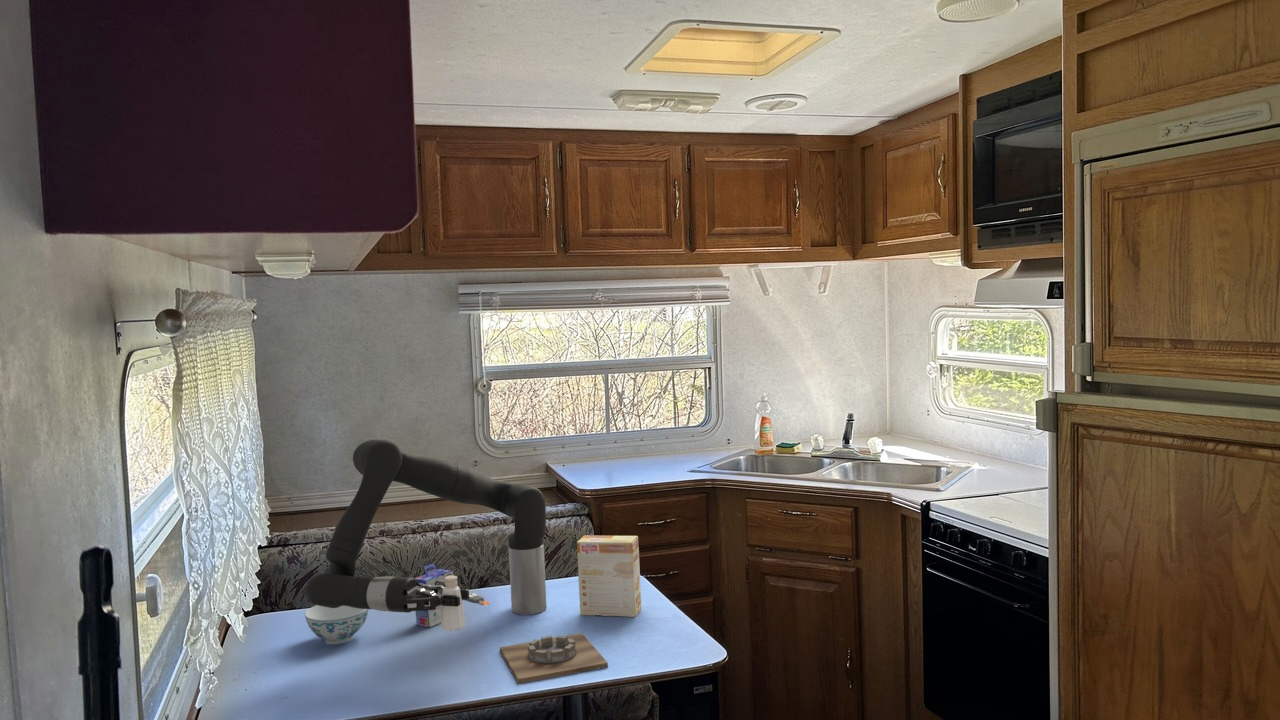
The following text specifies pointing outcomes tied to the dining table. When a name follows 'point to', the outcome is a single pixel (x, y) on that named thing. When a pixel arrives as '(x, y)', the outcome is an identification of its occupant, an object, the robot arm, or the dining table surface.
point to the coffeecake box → (609, 575)
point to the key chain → (477, 599)
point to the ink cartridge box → (431, 616)
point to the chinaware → (335, 622)
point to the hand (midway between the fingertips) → (463, 597)
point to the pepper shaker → (452, 607)
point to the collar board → (552, 657)
